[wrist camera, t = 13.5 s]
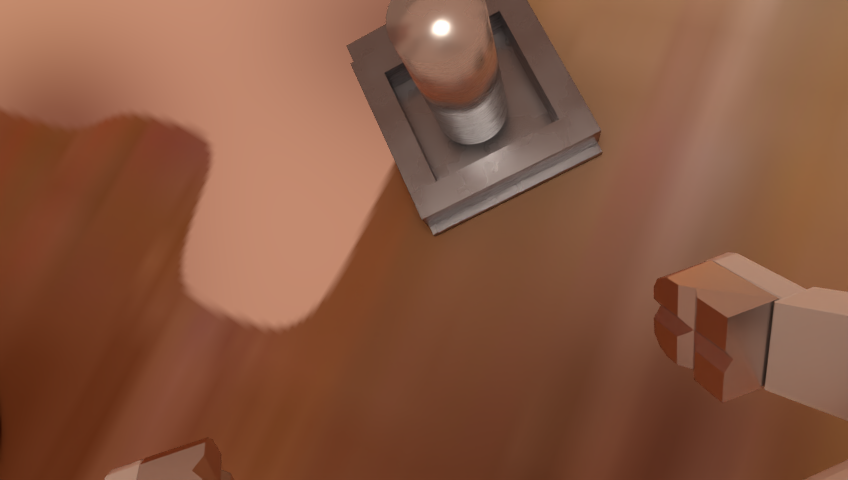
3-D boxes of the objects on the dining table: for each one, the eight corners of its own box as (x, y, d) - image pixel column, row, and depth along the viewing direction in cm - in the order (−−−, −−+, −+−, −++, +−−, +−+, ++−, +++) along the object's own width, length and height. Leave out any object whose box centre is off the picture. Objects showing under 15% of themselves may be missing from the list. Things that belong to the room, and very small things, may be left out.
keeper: (435, 236, 31) (398, 203, 24) (349, 49, 34) (291, -33, 27) (601, 154, 30) (619, 92, 22) (496, -32, 33) (480, -142, 25)
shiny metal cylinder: (444, 152, 31) (395, 74, 22) (431, 87, 32) (378, -16, 23) (514, 134, 31) (495, 46, 21) (499, 68, 31) (474, -47, 22)
